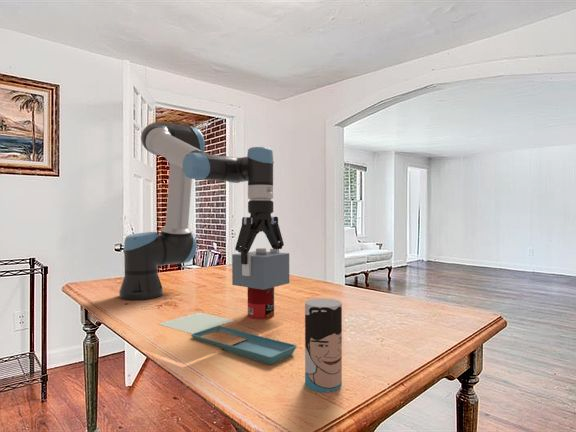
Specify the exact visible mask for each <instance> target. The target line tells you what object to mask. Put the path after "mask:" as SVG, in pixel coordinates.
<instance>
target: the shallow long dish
mask: <svg viewBox="0 0 576 432" xmlns="http://www.w3.org/2000/svg"><path fill="white" fill-rule="evenodd" d="M218 331H220V332H223V333H226V334H229V335H232V336H233V335H234V336H237V337H239V338H243V339H244V340H241V341H238V342H236V343H233V344H228V343H224V342H220V341H217V340H214V339H210V338H207V337H203V336H204V335H208V334H212V333H214V332H218ZM191 337H192V338H193V339H194V340H196V341H200V342H204V343H206V344H210V345H213V346H216V347H219V348H221V350H222V351H224V352H228V353H232V354H234V355H238V356H241V357H244V358H247V359H250V360H254V361H256V362H260V363H263V364H266V365H274V364H276V363H278V362H281V361H282V360H285V359H286V358H288V357H290V356H292V355H293V354H294V352H295V350H296V349H297V347H298V346H297V344H295V343H289V342H284V341H281V340H278V339H273V338H268V337H264V336H262V335H256V334H253V333H249V332H245V331H243V330H238V329H233V328H230V327H227V326H223V325H220V326H215V327H212V328H209V329H206V330H203V331H200V332H197V333H194V334H191Z"/></svg>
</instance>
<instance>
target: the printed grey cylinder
mask: <svg viewBox="0 0 576 432" xmlns="http://www.w3.org/2000/svg"><path fill="white" fill-rule="evenodd" d="M342 305H343V303H342V301H340V300H338V299H335V298H334V299H333V298H323V297H320V298H319V297H317V298H309V299H307V300H305V301H304V362H305V363H304V385H305V387H307V388H308V390H309V389H310V390H312V391H314V392H320V393H328V392H327V391H332V392H335V391H338V390H339V389H341V388H342V386H343V385H342V384H343V383H342V382H343V381H342V380H343V377H342V376H343V375H342V373H343V372H342V371H343V369H342V368H343V365H342V363H343V362H342V360H343V359H342V358H343V356H342V355H343V351H342V345H343V343H342V342H343V341H342V340H343V338H342V337H343V333H342V330H343V329H342V327H343V325H342V324H343V320H342V319H343V318H342V317H343V313H342V312H343V310H342V309H343V308H342V307H343V306H342ZM337 389H338V390H337Z"/></svg>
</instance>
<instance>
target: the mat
mask: <svg viewBox="0 0 576 432" xmlns="http://www.w3.org/2000/svg"><path fill="white" fill-rule="evenodd" d="M234 321H236V320H235V319H230V318H226V317H222V316H219V315H218V316H216V315H212V314H209V313H205V312H199V311H198V312H196V313H192V314H189V315H188V314H187V315H184V316H180V317H177V318H173V319H169V320H166V321H162V322H159V323H157V325H160V326H164V327H165V328H166V327H167V328H171V329H172V330H173V329H174V330H177V331H180V332H185V333H188V334H191V335H192V334H194V333H197V332H200V331H203V330H206V329H209V328H212V327H215V326H223V325H226V324H228V323H232V322H234Z"/></svg>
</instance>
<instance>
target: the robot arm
mask: <svg viewBox="0 0 576 432" xmlns="http://www.w3.org/2000/svg"><path fill="white" fill-rule="evenodd" d="M140 140H141V144H142V147H144V149H145V150H146V151H148V152H149V153H151V154H152V155H156V156H161V157H163V158H165V160H166V161H167V162H168V164H169V172H168V173H169V175H168V188H167V189H168V190H167V199H166V200H167V203H166V215H165V225H164V226H163V227H162V228H161V229H160V231H161V232H160V234H158V232H157V231H148V232H147V231H146V232H138V233H134V234H130V235H128V236H127V235H126V237H125V238H124V247H123V254H124V256H123V257H124V259H123V260H124V261H123V262H124V267H123V268H124V277H123V278H122V282H121V286H120V288H119V294H118V295H119V298H120V299H122V300H127V301H128V300H129V301H136V300H137V301H138V300H139V301H140V300H149V299H154V298H159V297H161V296H162V295H164V291H163V285H162V283H161V279H160V277H159V272H158V271H159V270H158V268H159V266H166V265H167V266H168V265H181V264H185V263H189V262H191V260H193V258H194V257H195V255H196V253H197V247H198V246H197V245H198V244H197V243H198V241H197V238H196V237H195V235H194V234H192V232H193V231H192V229H191V228H189V219H190V207H191V197H192V196H191V195H192V194H191V193H192V182H193V180H196V181H219V182H228V183H234V184H235V183H236V184H238V183H239V184H240V183H243V182H244V183H245V182H247V199H248V200H249V201H248V202H247V212H248V214H249V215H250V216H244V217H243V216H242V218H241V227H240V231H239V234H238V237H237V239H236V240H237V241H236V244H235V248H234V250H235V251H236V252H238V253H241V264H242V275H243V276H251V253H248V252H250V250H251V248H252V246H253V244H254V241H255V240H256V237H257V235H258V234H259V233H260V232H262V233H264V235H265V237H266V238H267V240H268V243H269V244H270V246H271V248H270V249H269V252H280V250H282V249H283V247H284V244H285V243H284V238H283V235H282V233H281V228H280V225H279V217H278V216H272V214H273V213H274V201H273V200H272V199H274V163H275V162H274V154H273V150H272V148H270V147H267V146H265V147H264V146H251V147H250V148H248V150H247V155H246V156H243V157H234V156H226V155H217V154H211V153H207V152H206V151H205V149H206V143H205V138H204V135H203V133H202V131H200V129H198V128H196V127H194V126H189V125H185V124H184V125H182V124H178V123H177V124H176V123H170V122H165V121H155V122H152V123H149V124H147V126H145V127H144V128H143V130H142V131H141V135H140Z"/></svg>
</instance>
